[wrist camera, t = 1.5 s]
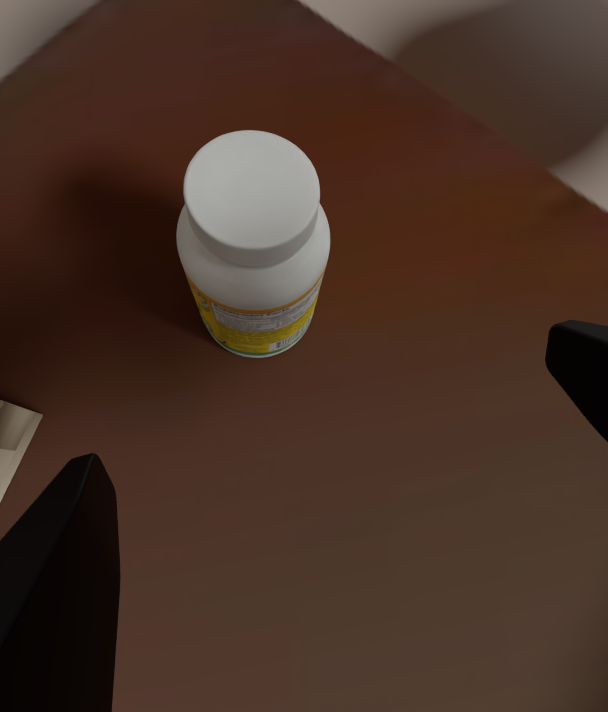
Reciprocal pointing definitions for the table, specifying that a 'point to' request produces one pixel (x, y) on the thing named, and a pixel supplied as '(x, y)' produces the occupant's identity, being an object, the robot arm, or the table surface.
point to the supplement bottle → (253, 241)
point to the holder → (14, 439)
